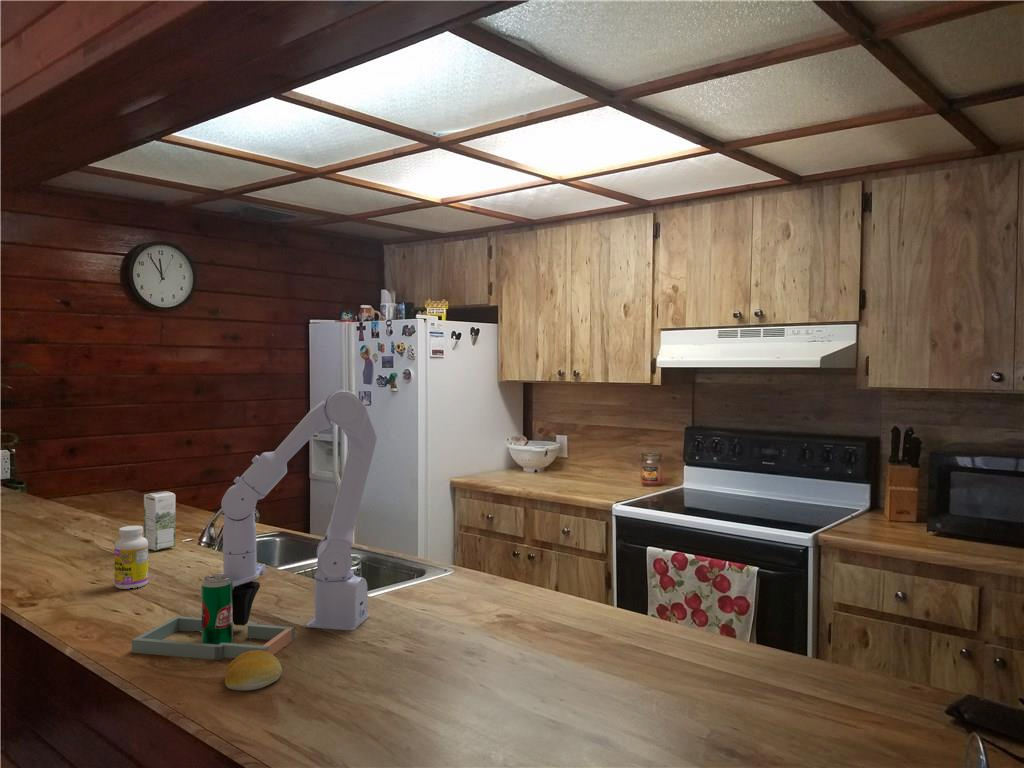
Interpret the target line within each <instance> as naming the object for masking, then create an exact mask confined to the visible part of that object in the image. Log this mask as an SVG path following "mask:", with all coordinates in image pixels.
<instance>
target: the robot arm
mask: <svg viewBox="0 0 1024 768" xmlns="http://www.w3.org/2000/svg"><path fill="white" fill-rule="evenodd" d="M331 422H332V423H334V424H335V425H336V426H338V427H339V429H341V430H342V431H343V432H344V434H345V436H346V438H347V439H348V440H349V443H350V444H349V447H348V450H347V455H346V459H345V463H344V467H343V470H342V474H341V478H340V481H339V486H338V490H337V493H336V498H335V501H334V506H333V509H332V512H331V517H330V521H329V524H328V526H327V528H326V532H325V535H324V537H323V538H322V540H321V541H320V542H319V543H318V544H317V547H316V558H317V561H316V566H317V571H316V572H315V573H314V618H313V619H311V620H310V621H308V622H307V623H306V624H305V627H306V628H311V629H313V628H314V629H324V630H325V629H326V630H335V631H336V630H337V631H350V632H353V631H354V630H356V629H357V628H358V627H359V626H360V625H361V624H362V623H364V622H365V621H366V620H368V619H369V617H370V615H369V613H368V610H369V609H368V582H367V580H366V578H364V577H360V576H357V575H355V574H354V569H352V567H353V557H352V553H351V549H352V546H353V541H354V540H353V539H354V530H355V527H356V522H357V518H358V514H359V511H360V507H361V503H362V499H363V495H364V491H365V487H366V483H367V480H368V475H369V471H370V469H371V468H370V467H371V463H372V459H373V456H374V452H375V448H376V445H377V444H376V443H377V435H376V432H375V429H374V426H373V424H372V421H371V417H370V415H369V412H368V410H367V407H366V406H365V405H364V402H362V401H361V400H360V399H359V397H358V396H357V395H356V394H355V393H353V392H351V391H350V390H347V389H337V390H334V391H332V392H331V393H330V394H329V395H328V396H327V397H326V400H322V401H320V402H319V403H318V404H317V405H316V406H315V407H313V408H312V409H311V410H310V411H308V412H307V414H306V415H304V417H303V418H302V419H301V420H300V422H299V423H298V424H297V425H296V426H295V427H294V429H293V430H291V431H290V433H289V434H288V435H287V436H286V437H285V439H284V440H282V442H281V443H280V444H279V445H278V446H277V448H275V450H274V451H265V452H262V453H261V454H260V455H258V454H256V455H255V456H254V457H252V459H251V462H252V464H251V465H250V466H249V467H248V468H247V469H246V470H245V471H244V472H243V473H242V475H241V476H236V477H235V478H234V480H233V482H234V483H235V484H234V485H233V484H232V486H230V487H229V488H228V489H227V490H226V491H225V493H224V495H223V497H222V499H221V504H220V505H221V509H222V512H223V519H222V520H223V521H222V522H223V527H222V538H223V539H222V551H223V552H222V554H223V555H222V556H223V557H222V558H223V572H221V573H219V574H227V575H229V576H230V579H231V581H232V586H233V626H246V625H247V624H248V623H249V620H250V614H251V610H252V607H253V603H254V600H255V597H256V595H257V593H258V591H259V589H260V588H261V586H260V585H261V583H260V582H258V581H254V580H257V578H258V577H259V576H264V575H266V564H265V563H257V560H258V559H257V525H256V521H255V520H256V517H255V511H256V506H257V503H258V501H259V500H262V499H264V498H265V497H266V496H267V495H268V494H269V493H270V492H271V490H273V489H274V487H275V486H276V485H277V484H279V482H280V481H281V480H282V479H283V478H284V477H285V476H286V474H287V473H288V466H287V465H288V462H289V461H290V460H291V459H292V458H293V457H294V455H296V454H297V453H298V451H300V450H301V449H302V448H303V446H305V445H306V443H307V442H309V441H310V439H312V438H313V437H314V436H315V435H316V434H317V433H318V432H322V431H325V430H329V429H331V428H333V426H332V424H331Z"/></svg>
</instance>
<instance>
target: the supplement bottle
mask: <svg viewBox="0 0 1024 768" xmlns="http://www.w3.org/2000/svg"><path fill="white" fill-rule="evenodd" d="M118 530H119V531H118V535H119V536H120V539H118V540H116V541H115V542H114V547H113V548H114V549H113V550H114V586H115V587H116V588H118V589H120V590H131V589H130V588H133V589H138V588H142V587H144V586H146V585H147V584H148V582H149V549H148V541H147V539H146V538H144V536H143V535H144V526H142V525H127V526H122V527H120V528H118ZM137 587H138V588H137Z"/></svg>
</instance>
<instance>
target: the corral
mask: <svg viewBox="0 0 1024 768" xmlns="http://www.w3.org/2000/svg"><path fill="white" fill-rule="evenodd" d="M190 631H202V617H197V616H196V617H195V616H181V615H176V616H174V617H173V618H170V619H168V620H166V621H164V622H163V623H161V624H159V625H158V626H155V627H153V628H152V629H150V630H148V631H146V632H144V633H142V634H140V635H138V636H136V637H134V638H132V640H131V653H132V654H144V655H153V656H154V655H157V656H167V657H177V658H179V657H180V658H190V659H191V658H193V659H200V660H201V659H203V660H213V659H215V660H216V661H221V660H222V658H223V659H232V658H236V657H237V656H239V655H241V654H242V653H245V652H248V651H254V650H262V651H266V652H269V653H271V654H273V655H274V656H275V655H276V654H277V653H278V652H280V651H281V650H282V649H283V647H284V648H285V647H286V646H287V645H289V644H290V643H292V642H293V641H294V640H295V627H294V626H284V625H283V626H282V625H270V624H269V625H268V624H259V622H257V621H253V622H251V623H249V624H248V625H247V638H248V637H250V638H249V639H252V638H256V639H255V640H264V641H265V640H266V641H267V642H266V643H265V644H263V645H257V644H256V645H255V644H246V643H245V644H244V643H233V642H232V643H222V642H221V643H220V644H218V645H216V644H204V643H202V642H193V641H192V642H190V641H179V640H178V641H177V640H167V639H166V638H168V637H170V636H171V635H173V634H175V633H177V632H190ZM224 657H225V658H224ZM215 660H214V661H215Z"/></svg>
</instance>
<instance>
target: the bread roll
mask: <svg viewBox="0 0 1024 768" xmlns="http://www.w3.org/2000/svg"><path fill="white" fill-rule="evenodd" d="M225 669H226V670H225V678H224V684H225V686H226V688H228V689H230V690H234V691H242V692H243V691H245V692H247V691H255V690H259V689H262V688H265V687H266V686H267V687H268V686H269V685H271V684H273V683H275V682H276V681H278V680H279V678H280V677H281V674H282V672H283V668H282V666H281V662H280V661H279V659H278V658H277V657H276V656H275V654H274V655H273V654H271V653H269V652H266V651H262V650H254V651H248V652H245V653H242V654H241V655H239V656H237V657H236V658H235V659H233V660H231V661H230V662H229V663H228V665H227V667H226V668H225Z"/></svg>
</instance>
